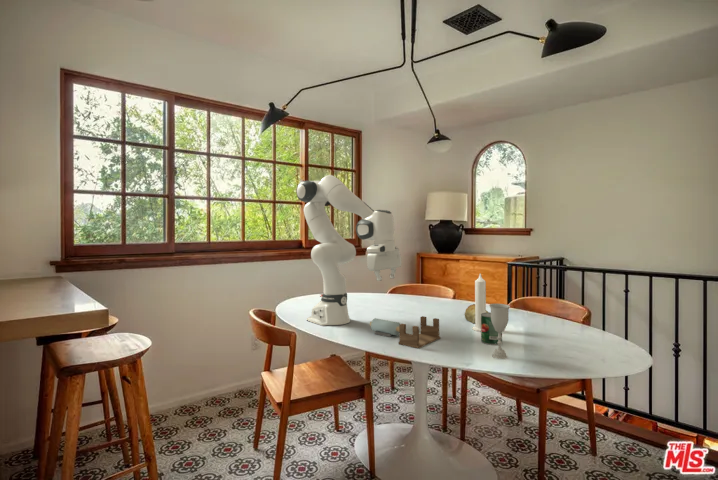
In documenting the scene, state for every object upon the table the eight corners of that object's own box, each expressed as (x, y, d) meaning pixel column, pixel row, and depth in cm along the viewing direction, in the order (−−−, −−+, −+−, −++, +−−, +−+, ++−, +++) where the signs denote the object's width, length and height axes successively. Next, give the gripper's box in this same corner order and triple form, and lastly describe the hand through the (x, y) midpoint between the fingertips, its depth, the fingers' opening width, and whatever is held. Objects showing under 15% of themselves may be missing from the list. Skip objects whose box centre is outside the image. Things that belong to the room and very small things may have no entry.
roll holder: (418, 348, 150) (418, 327, 149) (398, 344, 156) (398, 324, 155) (440, 338, 163) (440, 319, 162) (421, 334, 169) (421, 316, 168)
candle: (490, 332, 171) (489, 274, 170) (473, 331, 172) (472, 274, 171) (488, 327, 178) (487, 272, 177) (471, 327, 179) (471, 272, 178)
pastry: (470, 316, 201) (469, 301, 200) (495, 319, 193) (494, 303, 193) (459, 322, 189) (459, 305, 189) (485, 326, 182) (485, 308, 182)
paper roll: (367, 331, 173) (366, 318, 173) (374, 328, 178) (374, 316, 177) (398, 337, 163) (397, 324, 163) (405, 334, 167) (405, 321, 167)
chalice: (486, 353, 142) (485, 304, 142) (504, 352, 143) (504, 303, 142) (494, 360, 135) (494, 308, 135) (514, 359, 136) (513, 307, 135)
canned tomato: (476, 340, 158) (476, 313, 158) (492, 338, 162) (492, 311, 161) (490, 346, 151) (490, 317, 151) (506, 343, 154) (506, 315, 154)
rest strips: (374, 334, 171) (374, 331, 171) (382, 331, 175) (382, 328, 175) (389, 337, 166) (389, 334, 166) (397, 334, 170) (397, 331, 170)
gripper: (392, 246, 180) (393, 276, 180) (364, 248, 164) (365, 281, 164) (404, 246, 176) (405, 277, 176) (376, 248, 160) (377, 282, 160)
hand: (385, 279), depth 170 cm, fingers open, 8 cm apart
